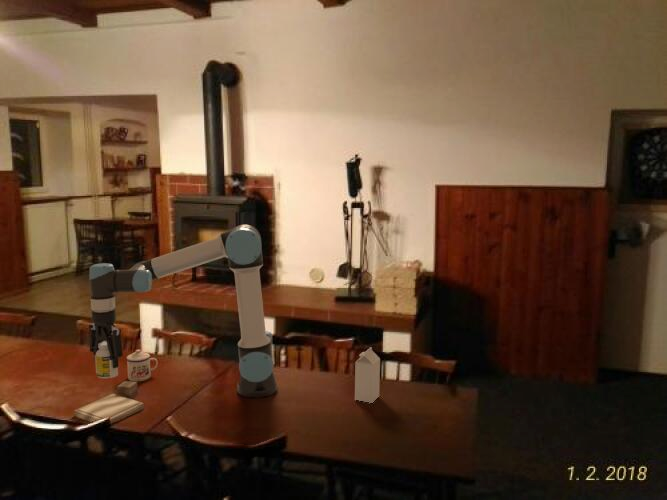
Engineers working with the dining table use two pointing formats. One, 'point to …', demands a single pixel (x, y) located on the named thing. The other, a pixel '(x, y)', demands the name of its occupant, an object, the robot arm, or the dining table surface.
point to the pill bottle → (103, 360)
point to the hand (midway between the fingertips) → (107, 374)
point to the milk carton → (367, 377)
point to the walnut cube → (127, 389)
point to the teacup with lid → (139, 366)
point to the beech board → (109, 408)
